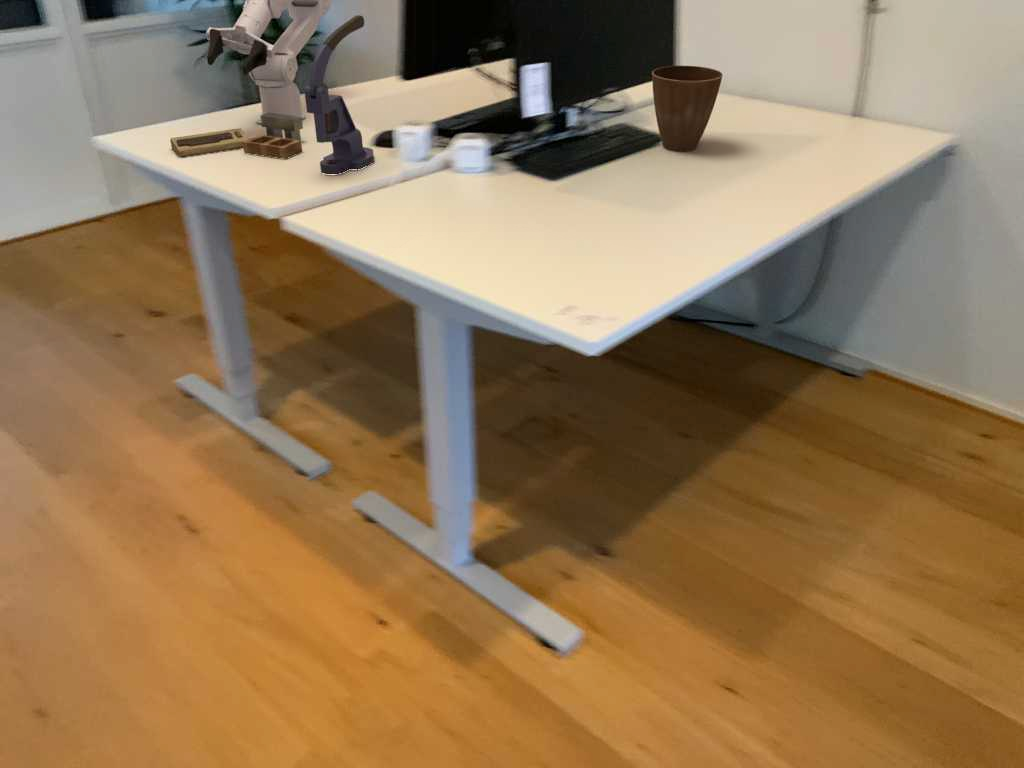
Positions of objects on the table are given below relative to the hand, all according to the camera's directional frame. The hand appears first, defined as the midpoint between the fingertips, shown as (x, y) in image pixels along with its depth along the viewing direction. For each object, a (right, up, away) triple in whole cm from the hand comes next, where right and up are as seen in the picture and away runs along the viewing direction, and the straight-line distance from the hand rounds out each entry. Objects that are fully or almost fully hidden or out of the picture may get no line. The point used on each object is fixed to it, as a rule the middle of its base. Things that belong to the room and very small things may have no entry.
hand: (226, 65), depth 182 cm
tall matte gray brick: (+9, -12, +12) cm, 20 cm away
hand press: (+26, -22, -2) cm, 34 cm away
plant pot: (+98, -15, +9) cm, 100 cm away
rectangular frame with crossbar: (+9, -17, +5) cm, 20 cm away
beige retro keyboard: (-6, -16, +8) cm, 19 cm away
